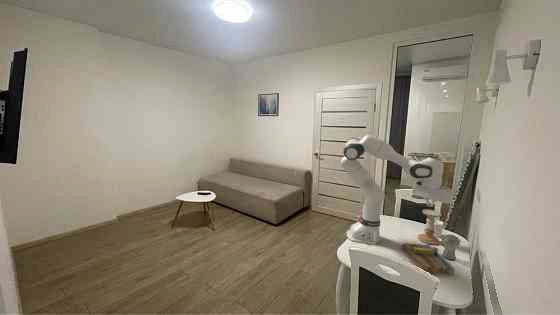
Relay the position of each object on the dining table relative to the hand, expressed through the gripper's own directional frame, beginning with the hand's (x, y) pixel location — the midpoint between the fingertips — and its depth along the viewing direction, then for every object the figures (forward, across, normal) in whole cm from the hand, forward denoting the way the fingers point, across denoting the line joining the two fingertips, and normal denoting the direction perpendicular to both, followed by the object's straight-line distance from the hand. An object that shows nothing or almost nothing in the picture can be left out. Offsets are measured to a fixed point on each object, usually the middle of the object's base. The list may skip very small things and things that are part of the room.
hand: (429, 206), depth 130 cm
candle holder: (+29, +4, -14) cm, 33 cm away
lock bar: (+25, -5, +12) cm, 28 cm away
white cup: (+29, +4, -27) cm, 40 cm away
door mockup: (+29, -6, +12) cm, 32 cm away
